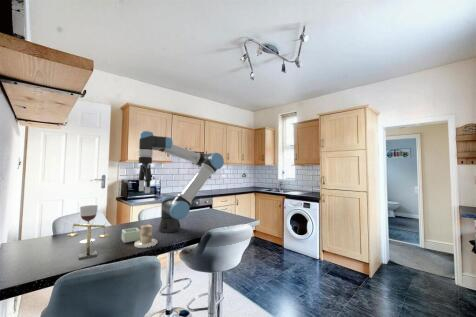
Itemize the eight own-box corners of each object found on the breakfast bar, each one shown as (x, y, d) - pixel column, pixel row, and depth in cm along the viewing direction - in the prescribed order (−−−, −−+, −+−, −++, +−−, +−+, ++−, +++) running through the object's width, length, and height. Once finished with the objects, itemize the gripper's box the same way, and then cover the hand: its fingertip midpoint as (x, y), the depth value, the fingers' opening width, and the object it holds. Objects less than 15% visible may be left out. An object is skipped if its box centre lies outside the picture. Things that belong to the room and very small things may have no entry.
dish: (153, 239, 128) (153, 237, 128) (160, 245, 119) (160, 242, 119) (132, 243, 121) (132, 241, 121) (137, 249, 112) (137, 247, 112)
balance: (107, 250, 110) (109, 218, 111) (109, 253, 106) (110, 220, 107) (65, 258, 99) (67, 223, 100) (65, 262, 95) (67, 225, 96)
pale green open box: (136, 236, 134) (136, 227, 134) (139, 239, 127) (140, 230, 127) (121, 238, 129) (121, 229, 129) (124, 242, 122) (124, 233, 122)
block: (149, 240, 123) (149, 224, 124) (151, 242, 119) (152, 226, 120) (139, 241, 120) (140, 225, 121) (142, 244, 116) (142, 227, 117)
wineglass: (74, 242, 122) (76, 207, 123) (89, 237, 130) (91, 204, 131) (85, 243, 119) (87, 208, 120) (99, 239, 127) (101, 205, 129)
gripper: (134, 157, 137) (132, 190, 135) (144, 155, 117) (143, 194, 116) (146, 157, 141) (145, 189, 140) (158, 156, 122) (157, 193, 120)
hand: (144, 191), depth 128 cm, fingers open, 13 cm apart
